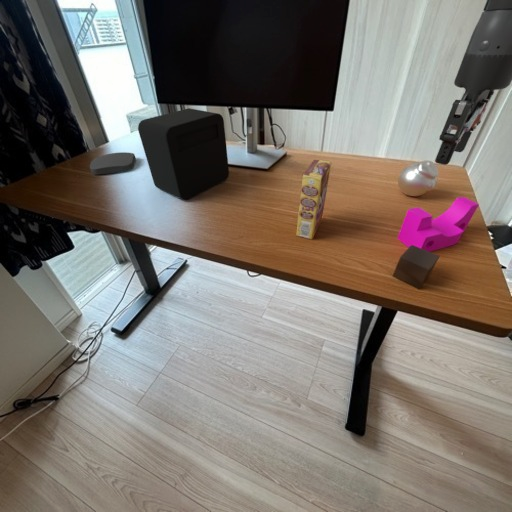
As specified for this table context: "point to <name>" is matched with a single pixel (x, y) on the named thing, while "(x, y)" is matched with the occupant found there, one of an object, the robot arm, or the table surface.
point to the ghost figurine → (418, 178)
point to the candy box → (312, 198)
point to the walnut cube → (415, 266)
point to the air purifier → (185, 151)
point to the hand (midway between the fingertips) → (449, 156)
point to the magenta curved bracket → (437, 226)
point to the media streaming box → (113, 163)
